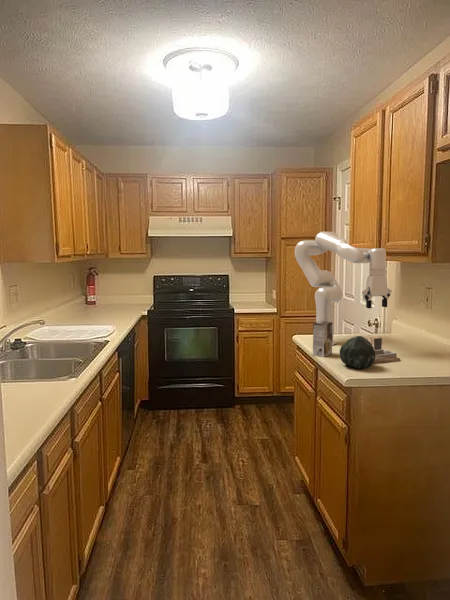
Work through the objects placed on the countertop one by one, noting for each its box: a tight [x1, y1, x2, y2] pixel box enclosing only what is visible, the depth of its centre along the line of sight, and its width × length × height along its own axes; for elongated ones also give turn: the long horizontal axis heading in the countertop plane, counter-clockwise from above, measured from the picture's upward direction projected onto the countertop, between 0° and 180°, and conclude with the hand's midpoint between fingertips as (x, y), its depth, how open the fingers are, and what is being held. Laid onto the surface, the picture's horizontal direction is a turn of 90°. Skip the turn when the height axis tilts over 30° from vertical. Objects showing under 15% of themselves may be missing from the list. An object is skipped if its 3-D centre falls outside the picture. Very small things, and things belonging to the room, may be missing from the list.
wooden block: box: [367, 335, 383, 350], centre depth 215 cm, size 4×5×8 cm
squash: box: [339, 335, 375, 370], centre depth 188 cm, size 14×15×15 cm
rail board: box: [372, 348, 401, 365], centre depth 201 cm, size 13×16×6 cm
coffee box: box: [312, 321, 333, 358], centre depth 211 cm, size 9×6×16 cm
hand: (376, 307), depth 213 cm, fingers open, 9 cm apart
